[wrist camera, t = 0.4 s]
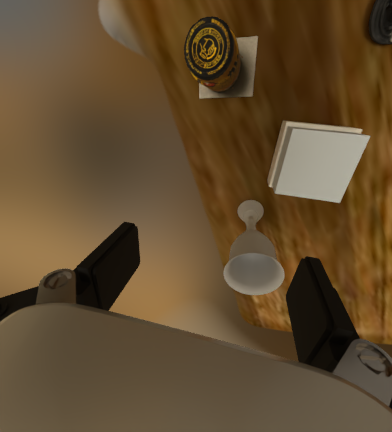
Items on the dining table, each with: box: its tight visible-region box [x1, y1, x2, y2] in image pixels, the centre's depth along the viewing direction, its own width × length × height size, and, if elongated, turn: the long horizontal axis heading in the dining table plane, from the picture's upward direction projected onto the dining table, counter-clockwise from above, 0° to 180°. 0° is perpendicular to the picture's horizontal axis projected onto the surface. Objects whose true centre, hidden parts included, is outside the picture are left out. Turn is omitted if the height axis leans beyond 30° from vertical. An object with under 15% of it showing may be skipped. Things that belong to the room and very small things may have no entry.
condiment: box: [184, 17, 258, 98], centre depth 26 cm, size 7×8×12 cm
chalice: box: [224, 200, 284, 295], centre depth 33 cm, size 7×7×18 cm
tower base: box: [267, 121, 362, 187], centre depth 33 cm, size 10×10×4 cm
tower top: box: [272, 126, 370, 203], centre depth 29 cm, size 9×9×4 cm
